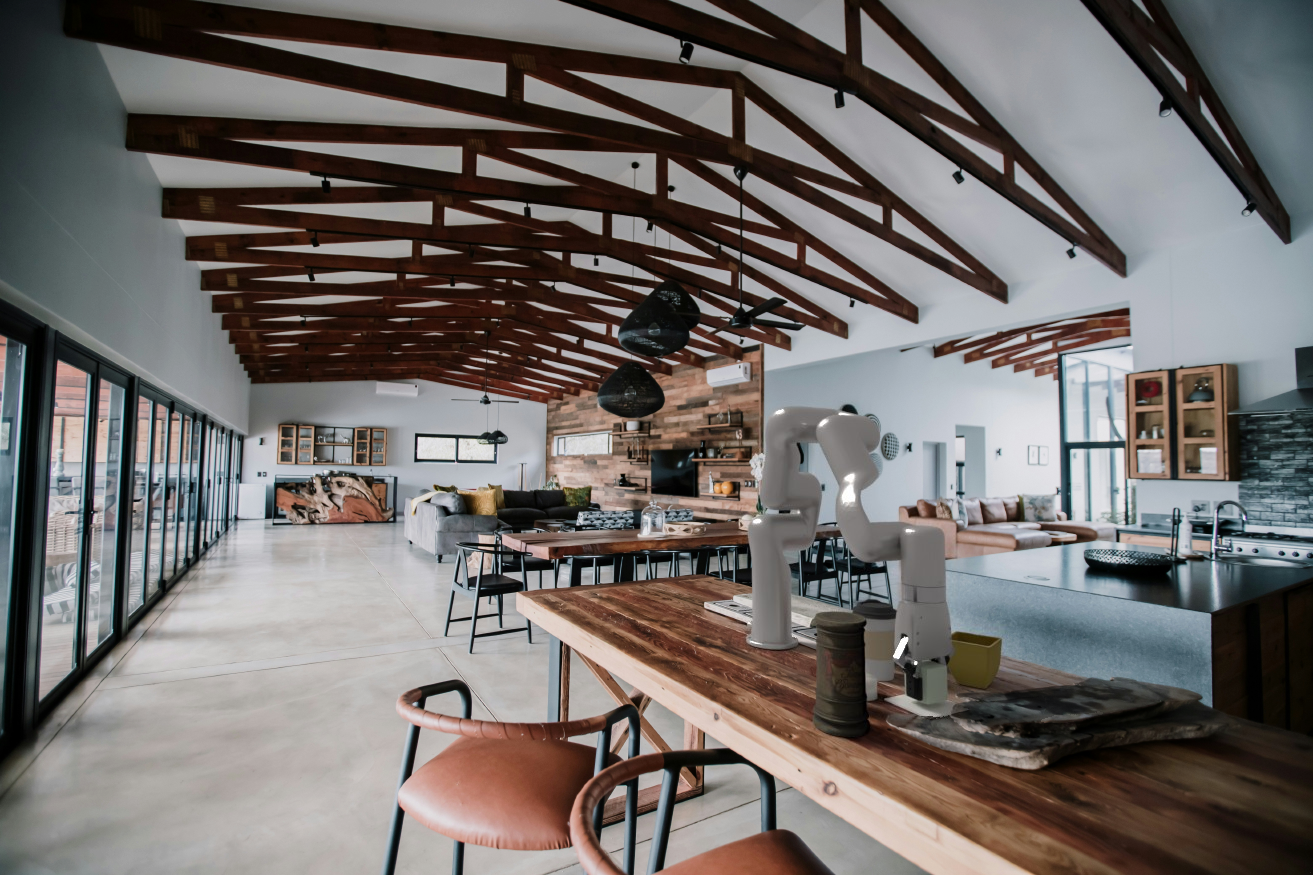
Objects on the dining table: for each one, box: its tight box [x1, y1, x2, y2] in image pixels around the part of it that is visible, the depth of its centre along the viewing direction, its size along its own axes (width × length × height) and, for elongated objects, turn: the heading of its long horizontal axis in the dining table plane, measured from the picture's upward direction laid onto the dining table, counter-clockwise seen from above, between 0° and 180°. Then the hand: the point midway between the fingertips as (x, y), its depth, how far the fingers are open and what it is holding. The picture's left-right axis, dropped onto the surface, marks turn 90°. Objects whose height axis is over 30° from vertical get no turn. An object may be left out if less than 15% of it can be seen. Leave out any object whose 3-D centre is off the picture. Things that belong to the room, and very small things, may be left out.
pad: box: [884, 693, 957, 718], centre depth 110 cm, size 10×10×1 cm
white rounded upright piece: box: [866, 673, 878, 702], centre depth 115 cm, size 6×6×4 cm
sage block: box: [904, 659, 949, 705], centre depth 111 cm, size 5×5×6 cm
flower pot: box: [947, 630, 1003, 690], centre depth 122 cm, size 9×9×9 cm
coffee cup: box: [851, 598, 897, 682], centre depth 127 cm, size 9×9×15 cm
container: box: [812, 611, 871, 738], centre depth 101 cm, size 9×9×18 cm
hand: (925, 694), depth 110 cm, fingers closed on sage block, 4 cm apart
